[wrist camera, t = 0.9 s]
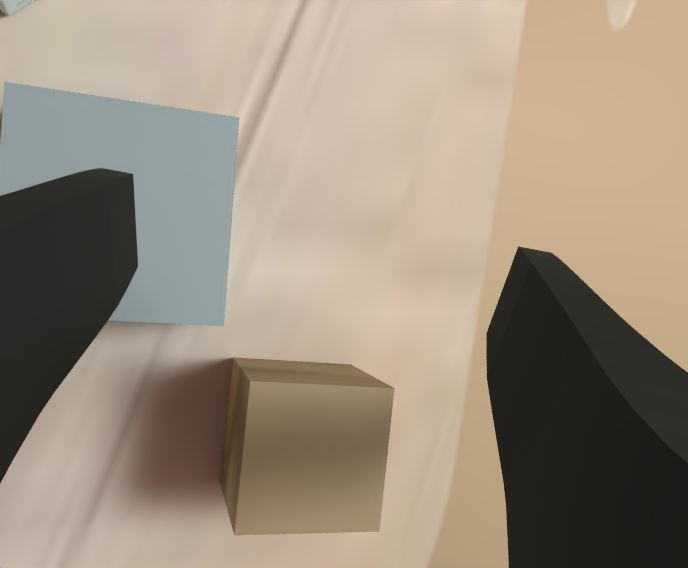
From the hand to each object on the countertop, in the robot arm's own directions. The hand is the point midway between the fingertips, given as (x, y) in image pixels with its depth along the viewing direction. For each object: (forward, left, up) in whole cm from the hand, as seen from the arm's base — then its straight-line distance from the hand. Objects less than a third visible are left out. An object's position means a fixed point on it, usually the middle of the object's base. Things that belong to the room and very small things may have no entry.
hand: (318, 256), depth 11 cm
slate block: (+1, +4, -13) cm, 14 cm away
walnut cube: (-6, -3, -13) cm, 15 cm away
